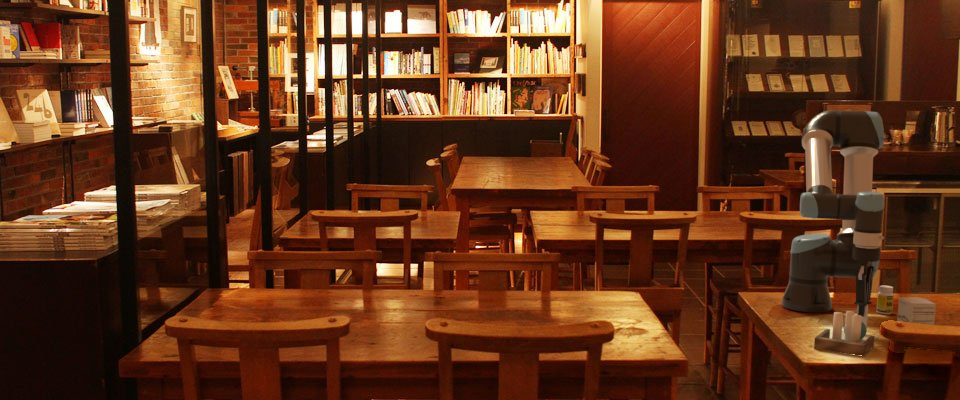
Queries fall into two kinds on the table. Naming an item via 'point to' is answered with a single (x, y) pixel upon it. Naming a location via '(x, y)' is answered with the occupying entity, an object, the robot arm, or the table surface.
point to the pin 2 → (856, 328)
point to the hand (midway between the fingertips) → (861, 326)
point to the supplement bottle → (885, 300)
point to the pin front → (848, 325)
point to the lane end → (842, 344)
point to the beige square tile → (861, 339)
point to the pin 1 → (837, 325)
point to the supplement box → (916, 310)
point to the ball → (863, 330)
